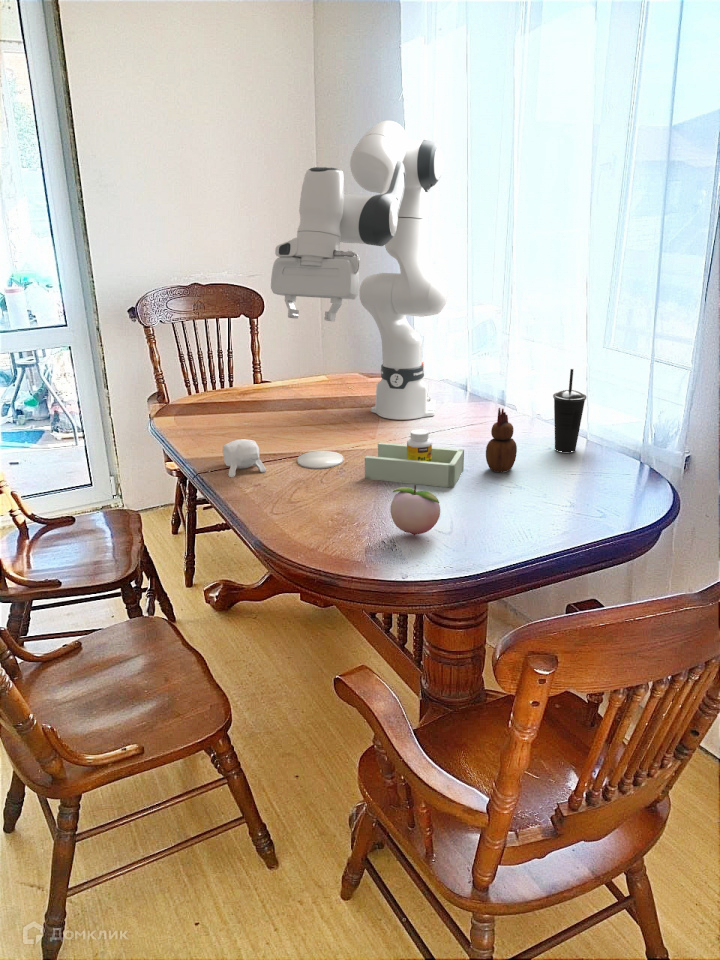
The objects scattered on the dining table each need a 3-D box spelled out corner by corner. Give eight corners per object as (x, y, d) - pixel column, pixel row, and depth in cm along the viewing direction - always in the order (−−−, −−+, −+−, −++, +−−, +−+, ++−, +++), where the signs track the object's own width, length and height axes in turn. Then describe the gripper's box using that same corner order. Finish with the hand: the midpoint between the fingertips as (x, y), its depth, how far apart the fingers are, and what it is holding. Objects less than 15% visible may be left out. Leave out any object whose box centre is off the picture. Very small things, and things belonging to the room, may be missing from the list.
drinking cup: (583, 447, 180) (591, 367, 173) (578, 456, 174) (586, 373, 167) (552, 443, 183) (558, 364, 176) (546, 453, 177) (552, 371, 170)
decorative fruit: (383, 541, 133) (382, 491, 130) (397, 524, 140) (396, 475, 137) (432, 549, 130) (433, 497, 127) (444, 530, 137) (445, 480, 134)
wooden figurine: (496, 476, 163) (499, 411, 157) (480, 468, 168) (483, 405, 162) (520, 471, 166) (524, 407, 160) (504, 463, 170) (507, 401, 165)
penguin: (223, 479, 174) (234, 476, 159) (217, 443, 173) (228, 437, 159) (258, 473, 176) (272, 470, 162) (252, 438, 176) (266, 432, 162)
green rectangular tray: (379, 462, 173) (379, 442, 171) (463, 470, 167) (464, 449, 165) (364, 478, 163) (364, 457, 161) (453, 487, 157) (454, 465, 155)
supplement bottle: (416, 481, 161) (417, 437, 158) (401, 474, 166) (401, 430, 162) (436, 476, 164) (437, 432, 160) (421, 469, 168) (421, 426, 165)
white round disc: (307, 451, 182) (307, 449, 181) (349, 455, 178) (349, 453, 178) (290, 466, 172) (289, 463, 172) (334, 470, 169) (333, 468, 168)
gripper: (368, 253, 146) (361, 324, 148) (288, 252, 157) (282, 318, 159) (351, 248, 141) (344, 321, 143) (269, 247, 151) (263, 315, 153)
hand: (311, 319), depth 151 cm, fingers open, 8 cm apart
